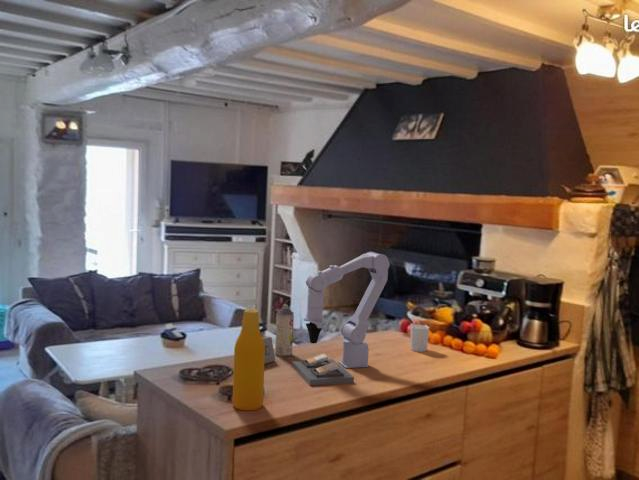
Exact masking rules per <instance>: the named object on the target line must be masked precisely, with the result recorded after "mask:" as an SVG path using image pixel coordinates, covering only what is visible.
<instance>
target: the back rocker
mask: <svg viewBox="0 0 639 480" xmlns="http://www.w3.org/2000/svg"><path fill="white" fill-rule="evenodd" d="M328 359H329V357H328V356H327V355H326V353H321V354H319V355H316V356H313V357H310V358H307V359H306V360H307V363H308V364H309V365H314V364H317V363H318V361H321V362H323V361H326V360H328Z"/></svg>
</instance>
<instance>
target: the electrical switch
mask: <svg viewBox="0 0 639 480" xmlns="http://www.w3.org/2000/svg"><path fill="white" fill-rule="evenodd" d="M262 338H263V340H264V344H265V361H264V365H265V364H269V363H272V362H275V361H276V355H275V348H274V345H273V340H272V339H273V338H272V337H271V336H268V337H262Z"/></svg>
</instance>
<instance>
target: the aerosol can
mask: <svg viewBox="0 0 639 480" xmlns="http://www.w3.org/2000/svg"><path fill="white" fill-rule="evenodd" d="M294 316H295V314H294V311H292V310H291V309H290V307H289V305H288V304H283V306H282V307H281V308H280V309H279V311H276V323H275V324H276V325H275V347H274V355H275V357H276V356H277V357H281V358H282V357H283V358H287V357H291V356H292V355H293V339H294V323H295V322H294V320H295V319H294V318H295V317H294Z"/></svg>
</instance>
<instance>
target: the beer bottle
mask: <svg viewBox="0 0 639 480" xmlns="http://www.w3.org/2000/svg"><path fill="white" fill-rule="evenodd" d="M259 319H260V317H259V310H257V309H245V310H243V317H242V325H241V329H240V333H239V335H238V337H237V338H236V340H235V344H234V350H233V353H234V354H233V377H232V378H233V380H232V381H233V382H232V401H231V402H232V405H233V407H234V408H235V409H236V410H240V411H255V410H259V409H260V408H262V407H263V404H264V381H265V364H264V361H265V344H264V340H263V338H264V337H263V335H262V333H261V330H260V329H261V328H260V320H259Z"/></svg>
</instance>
